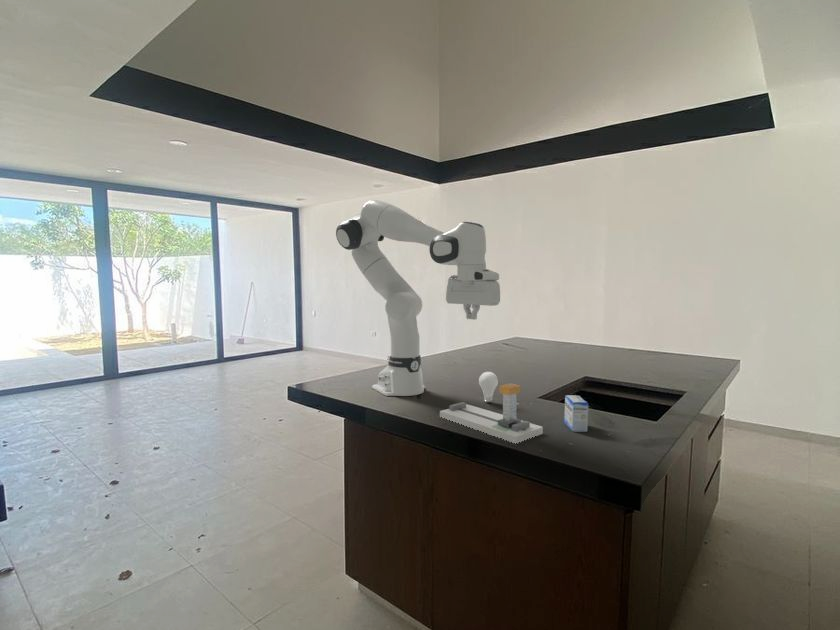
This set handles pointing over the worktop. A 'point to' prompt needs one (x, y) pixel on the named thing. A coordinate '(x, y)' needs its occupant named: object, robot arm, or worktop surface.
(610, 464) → the worktop surface
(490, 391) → the light bulb
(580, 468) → the worktop surface
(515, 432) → the fader console
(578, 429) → the medicine box
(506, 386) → the fader lever
